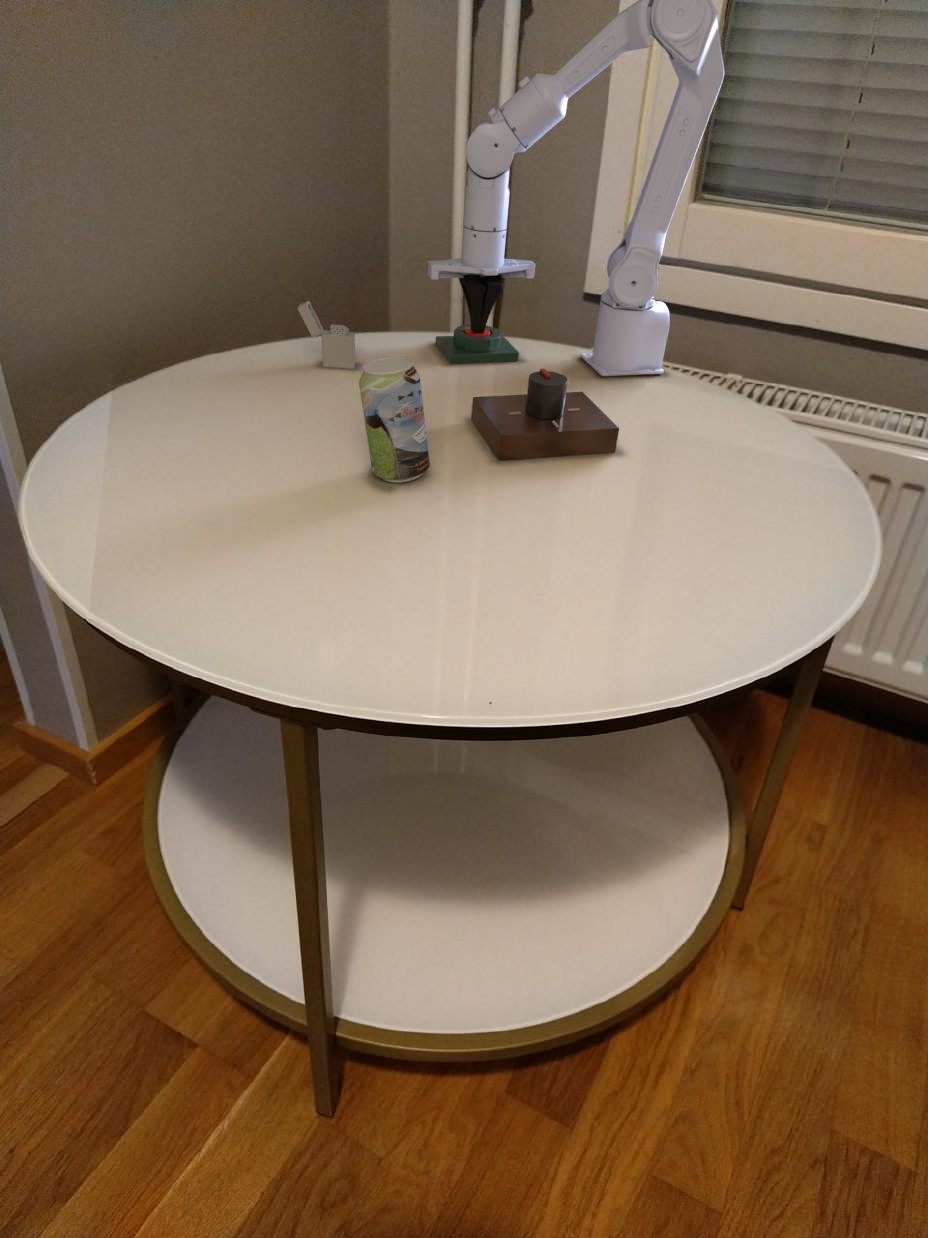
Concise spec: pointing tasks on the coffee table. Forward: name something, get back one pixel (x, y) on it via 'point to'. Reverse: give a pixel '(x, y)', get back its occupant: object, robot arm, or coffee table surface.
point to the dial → (546, 394)
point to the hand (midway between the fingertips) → (477, 331)
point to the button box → (476, 347)
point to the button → (471, 333)
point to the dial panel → (543, 428)
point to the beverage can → (394, 419)
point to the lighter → (331, 340)
